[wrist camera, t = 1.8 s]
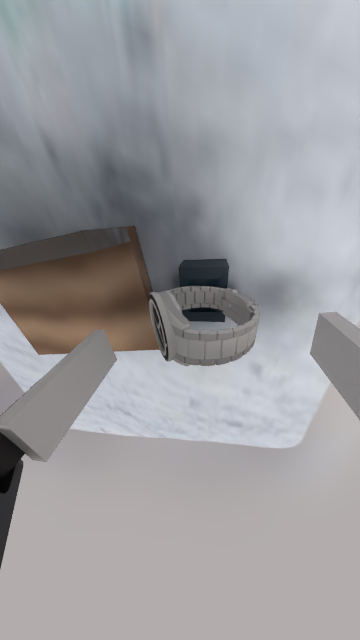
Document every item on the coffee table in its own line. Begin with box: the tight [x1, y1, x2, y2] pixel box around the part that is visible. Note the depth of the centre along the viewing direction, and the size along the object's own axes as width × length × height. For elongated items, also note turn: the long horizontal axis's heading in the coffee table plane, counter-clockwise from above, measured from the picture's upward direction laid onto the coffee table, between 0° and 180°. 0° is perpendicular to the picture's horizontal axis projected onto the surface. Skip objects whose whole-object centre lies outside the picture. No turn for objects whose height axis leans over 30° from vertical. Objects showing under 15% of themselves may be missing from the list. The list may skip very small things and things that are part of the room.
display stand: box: [0, 226, 160, 355], centre depth 19 cm, size 14×20×8 cm
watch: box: [149, 259, 260, 366], centre depth 14 cm, size 6×8×11 cm
